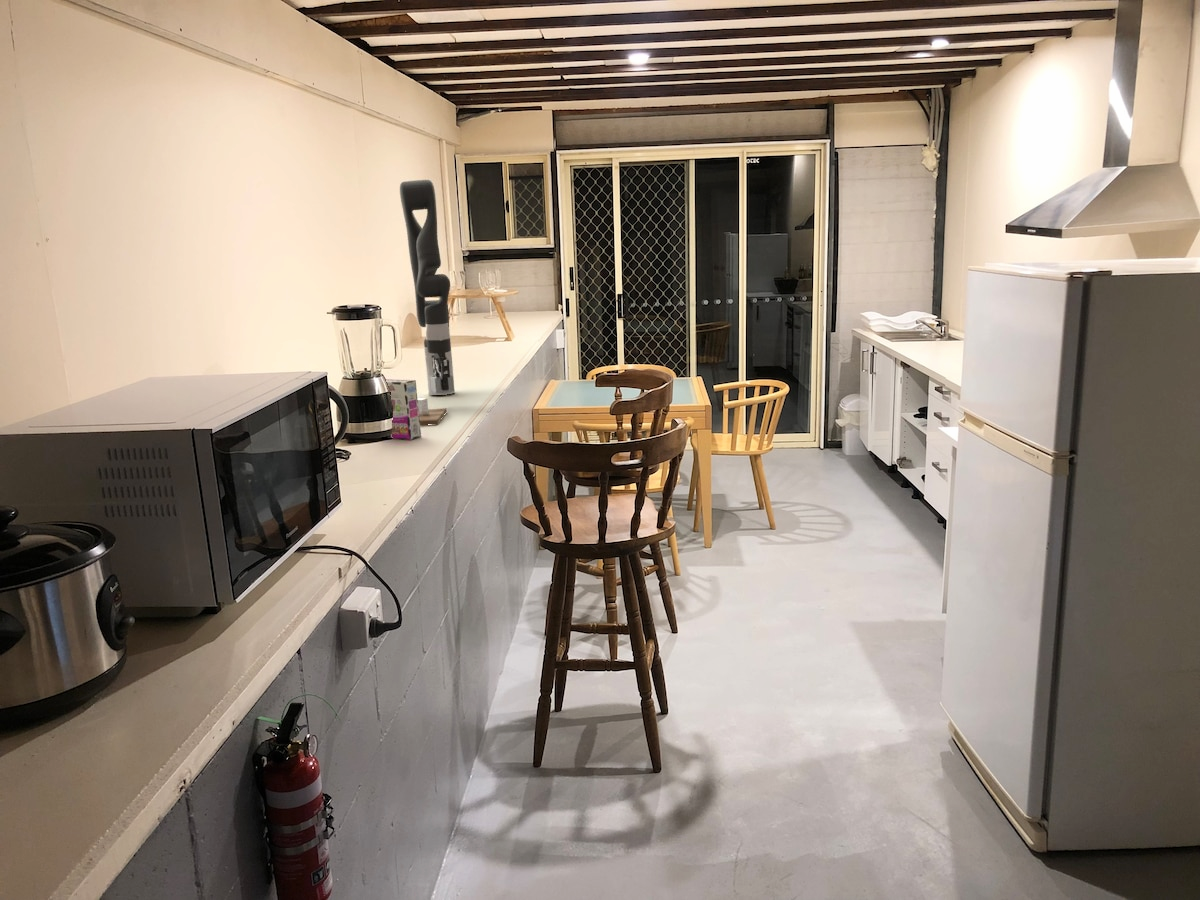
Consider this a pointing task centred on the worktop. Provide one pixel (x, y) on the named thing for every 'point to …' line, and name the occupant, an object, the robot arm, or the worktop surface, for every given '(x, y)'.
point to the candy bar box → (404, 409)
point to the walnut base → (432, 416)
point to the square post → (422, 406)
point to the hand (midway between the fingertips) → (442, 388)
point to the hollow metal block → (437, 384)
